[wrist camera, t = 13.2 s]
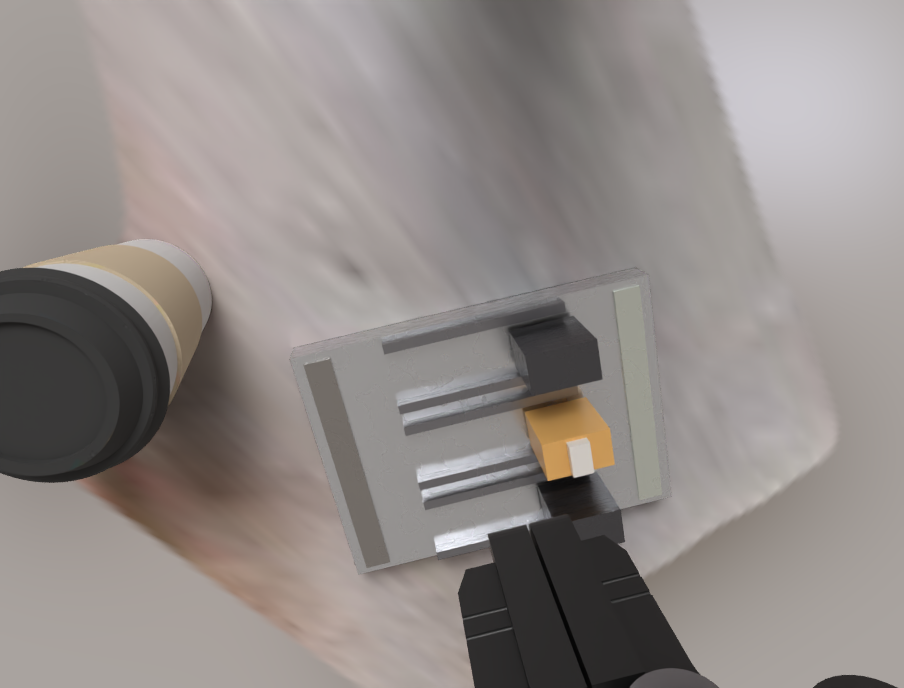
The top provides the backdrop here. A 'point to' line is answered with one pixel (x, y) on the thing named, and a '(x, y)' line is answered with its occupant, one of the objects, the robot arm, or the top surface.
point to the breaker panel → (485, 418)
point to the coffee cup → (94, 355)
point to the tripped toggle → (569, 439)
